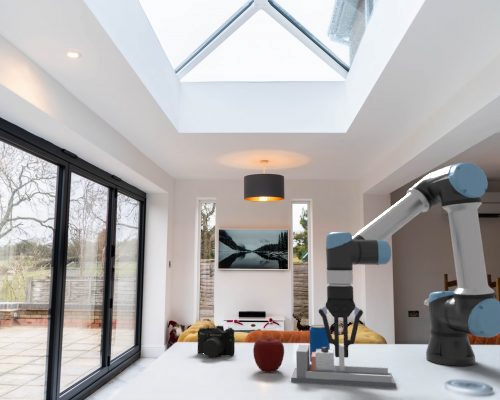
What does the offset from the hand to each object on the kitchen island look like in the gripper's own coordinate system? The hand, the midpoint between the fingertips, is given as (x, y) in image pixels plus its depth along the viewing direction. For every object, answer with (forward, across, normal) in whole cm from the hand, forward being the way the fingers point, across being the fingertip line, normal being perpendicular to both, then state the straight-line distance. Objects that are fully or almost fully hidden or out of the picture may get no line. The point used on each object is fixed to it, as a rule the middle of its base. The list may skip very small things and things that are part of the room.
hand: (341, 369), depth 125 cm
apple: (+3, +22, -5) cm, 23 cm away
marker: (+1, +8, 0) cm, 8 cm away
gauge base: (+3, 0, 0) cm, 3 cm away
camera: (+3, +45, -22) cm, 50 cm away
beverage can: (+3, +7, -18) cm, 20 cm away
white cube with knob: (+1, +5, 0) cm, 5 cm away
